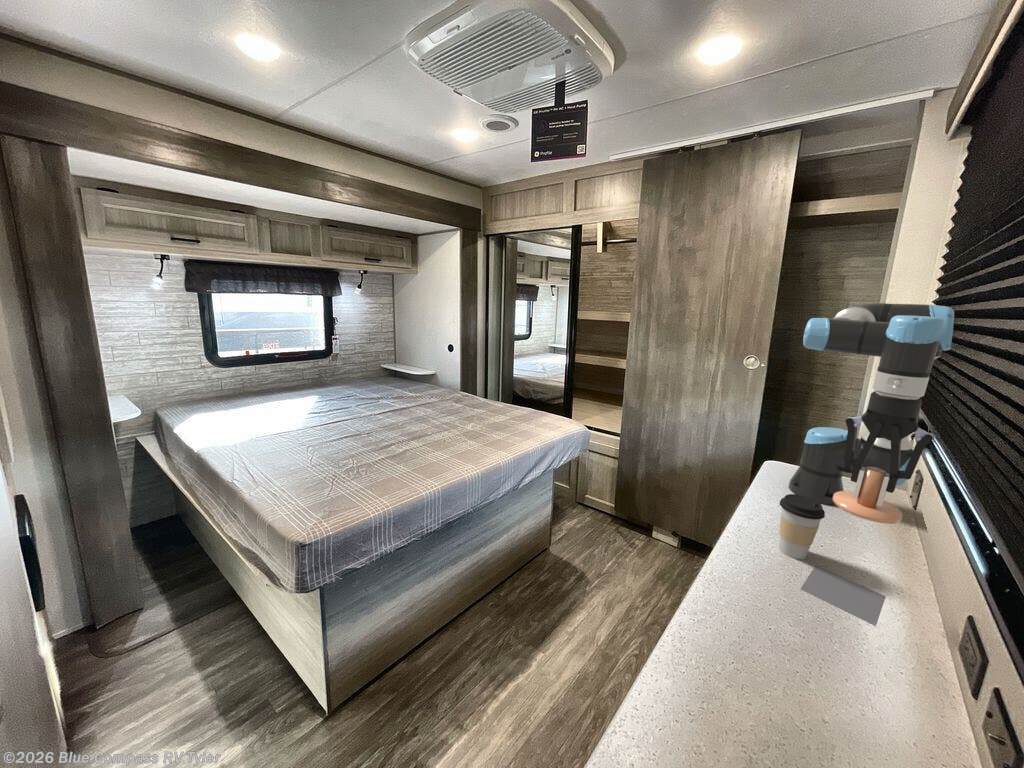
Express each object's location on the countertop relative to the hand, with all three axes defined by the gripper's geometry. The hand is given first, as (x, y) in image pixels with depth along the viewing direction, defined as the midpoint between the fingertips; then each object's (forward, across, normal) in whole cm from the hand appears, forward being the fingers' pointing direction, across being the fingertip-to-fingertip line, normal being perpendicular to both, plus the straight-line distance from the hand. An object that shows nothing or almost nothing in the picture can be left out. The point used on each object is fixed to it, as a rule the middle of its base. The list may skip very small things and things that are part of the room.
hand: (867, 500), depth 85 cm
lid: (+2, 0, 0) cm, 2 cm away
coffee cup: (+24, -12, +7) cm, 28 cm away
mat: (+24, 0, -1) cm, 24 cm away
